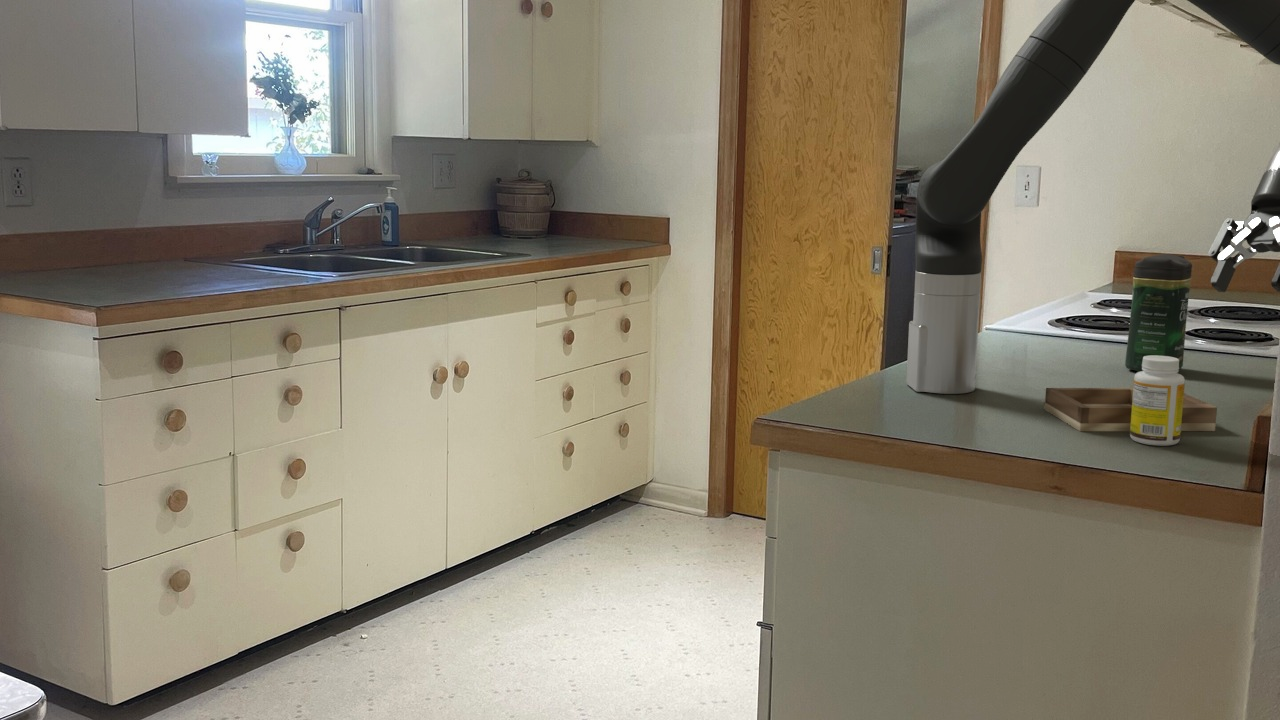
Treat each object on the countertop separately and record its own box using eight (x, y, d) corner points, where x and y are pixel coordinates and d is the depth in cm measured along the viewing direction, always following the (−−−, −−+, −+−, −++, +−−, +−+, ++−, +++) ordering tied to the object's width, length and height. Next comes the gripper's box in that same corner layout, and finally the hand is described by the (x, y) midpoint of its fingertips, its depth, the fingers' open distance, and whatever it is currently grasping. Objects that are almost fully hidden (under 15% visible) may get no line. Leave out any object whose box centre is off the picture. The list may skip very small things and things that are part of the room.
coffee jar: (1172, 378, 175) (1182, 257, 171) (1119, 371, 180) (1128, 254, 176) (1188, 368, 182) (1199, 253, 179) (1137, 363, 187) (1146, 250, 184)
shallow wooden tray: (1079, 431, 141) (1081, 407, 141) (1044, 409, 153) (1046, 388, 152) (1214, 430, 141) (1217, 407, 141) (1169, 409, 153) (1171, 387, 153)
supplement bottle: (1163, 435, 139) (1170, 353, 137) (1189, 446, 134) (1197, 361, 132) (1120, 436, 139) (1126, 354, 137) (1144, 447, 133) (1151, 362, 131)
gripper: (1228, 171, 152) (1182, 274, 149) (1331, 159, 139) (1282, 273, 136) (1261, 201, 155) (1215, 303, 152) (1364, 193, 142) (1316, 304, 139)
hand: (1247, 289), depth 144 cm, fingers open, 8 cm apart
